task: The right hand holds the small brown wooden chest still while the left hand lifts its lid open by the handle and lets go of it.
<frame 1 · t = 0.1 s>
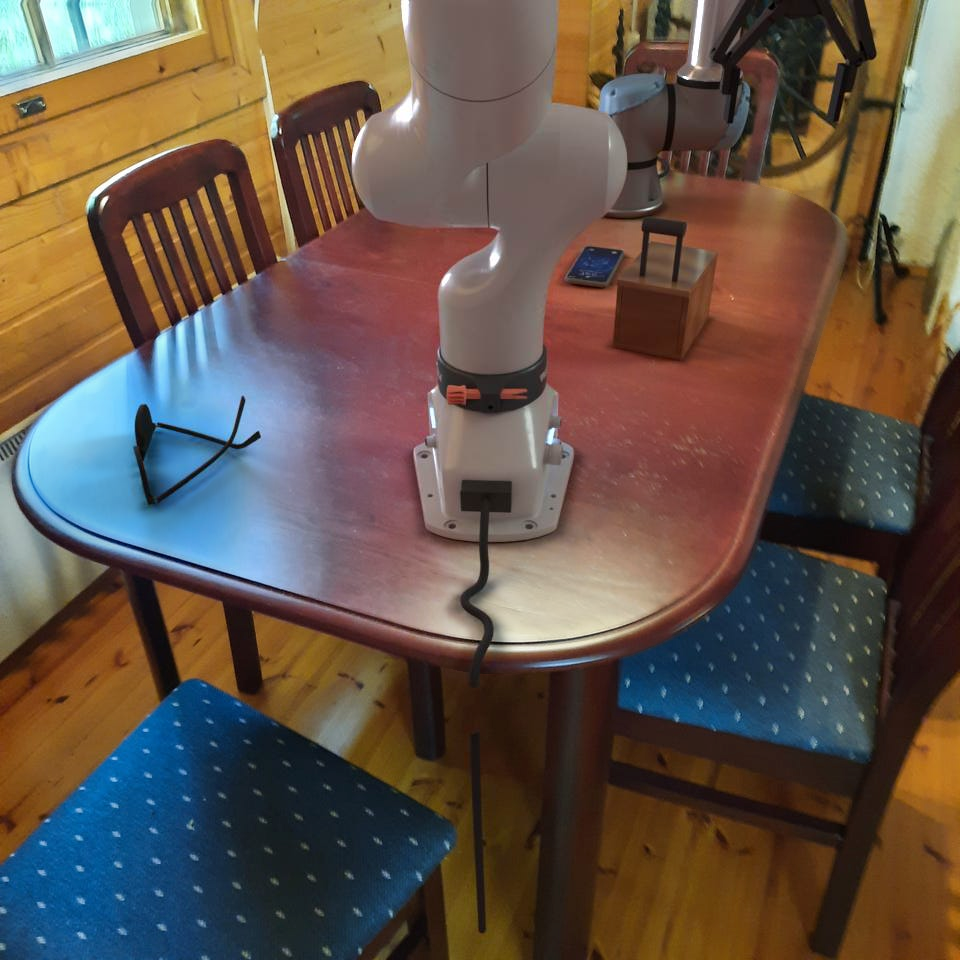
right hand: (780, 120, 112), 28 cm above the table, tool pointing down, fingers open, 13 cm apart
smartphone: (595, 269, 144), on the table
lid: (671, 240, 117), point 14 cm above the table, hinge at 0.0°
chest: (661, 332, 125), on the table
sunglasses: (202, 458, 102), on the table
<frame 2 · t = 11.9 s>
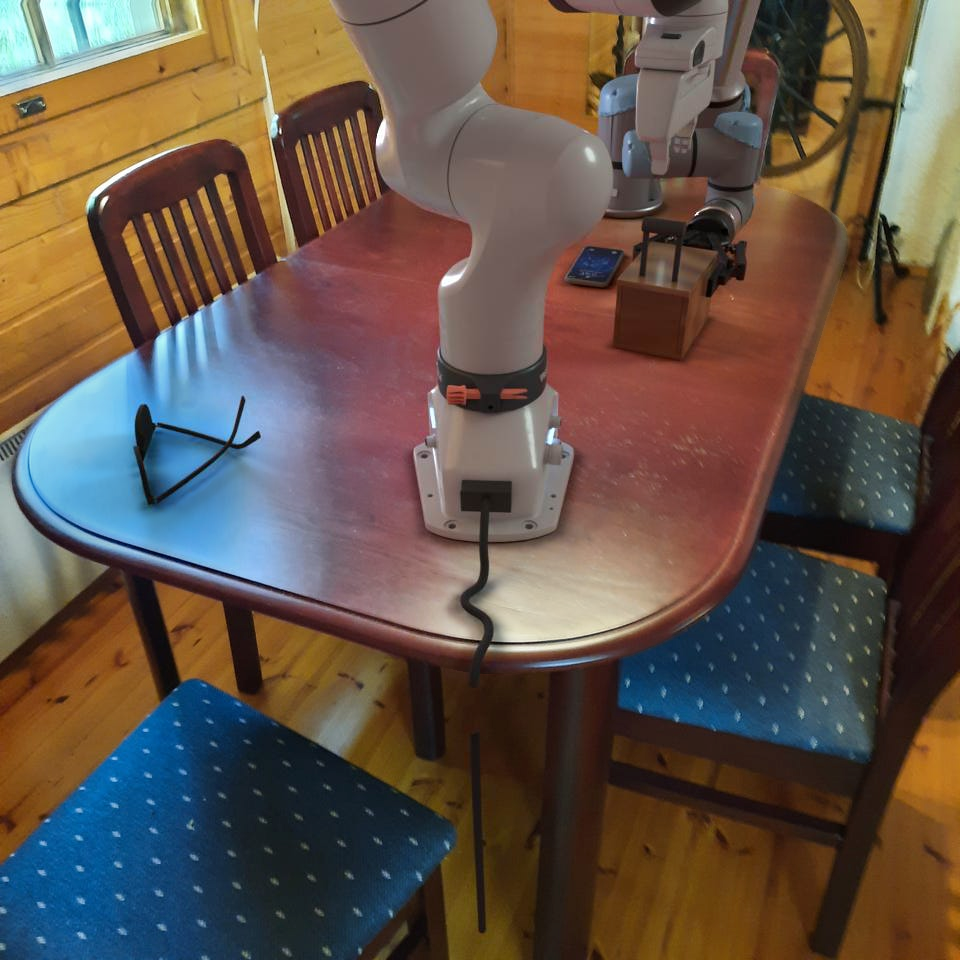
left hand: (671, 162, 106), 26 cm above the table, tool pointing down, fingers open, 8 cm apart
right hand: (672, 282, 124), 7 cm above the table, tool horizontal, fingers closed on chest, 10 cm apart
chest: (661, 332, 125), on the table, touching right hand
everything else where it was.
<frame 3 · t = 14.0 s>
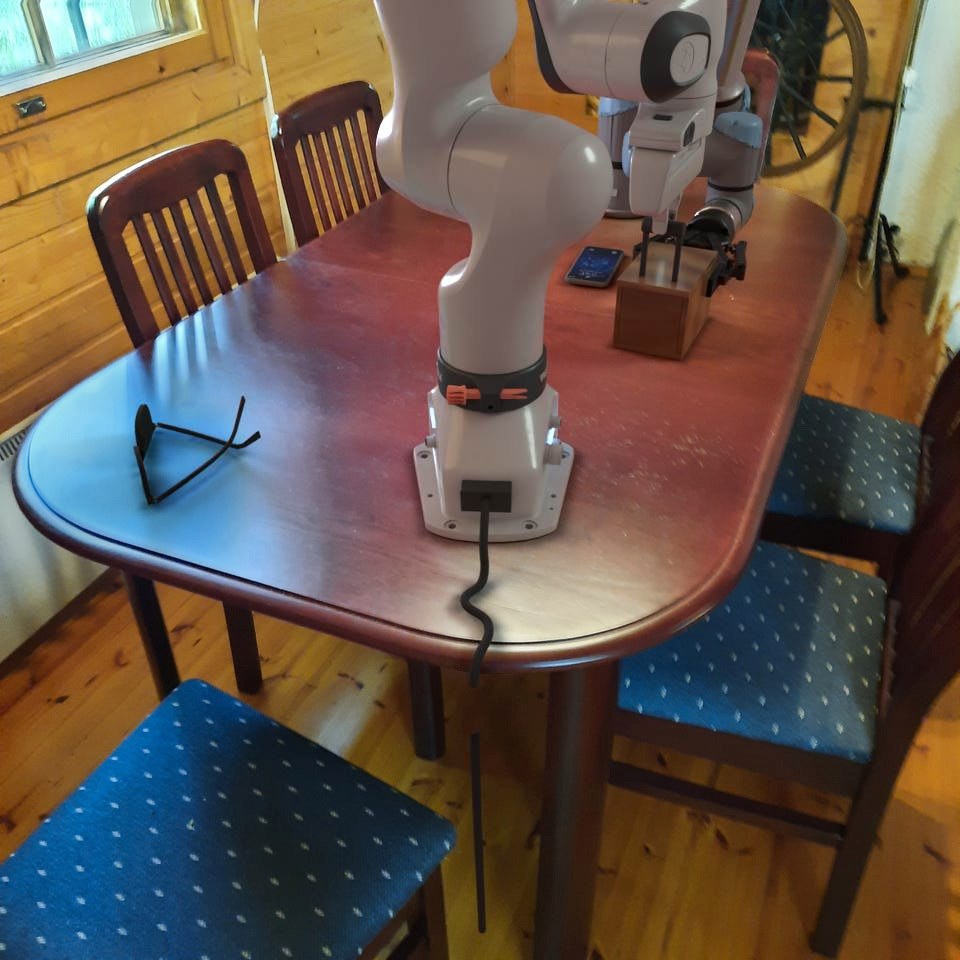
left hand: (663, 228, 111), 17 cm above the table, tool pointing down, fingers closed on lid, 2 cm apart
right hand: (672, 282, 124), 7 cm above the table, tool horizontal, fingers closed on chest, 10 cm apart
lid: (671, 240, 117), point 14 cm above the table, hinge at -0.1°, touching left hand
chest: (661, 332, 125), on the table, touching right hand
everything else where it was.
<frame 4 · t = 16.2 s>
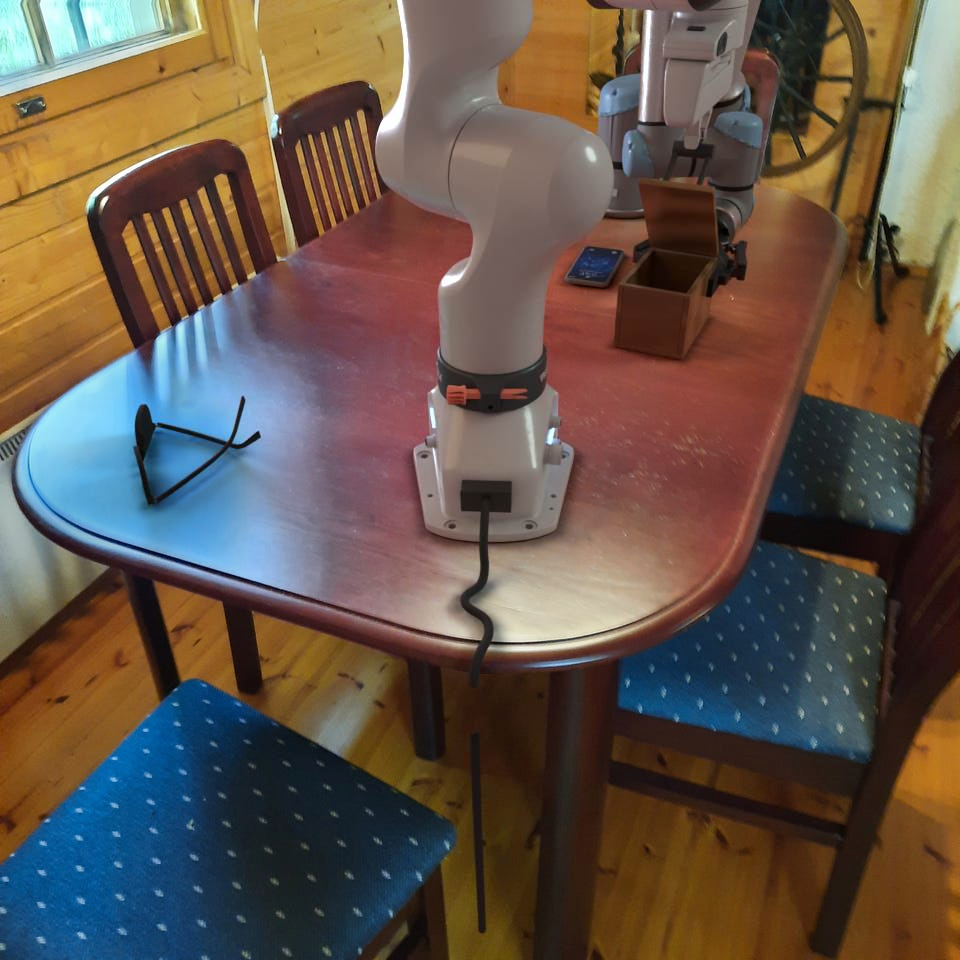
left hand: (694, 144, 115), 25 cm above the table, tool pointing down, fingers closed, pressing on lid
right hand: (673, 282, 124), 6 cm above the table, tool horizontal, fingers closed on chest, 10 cm apart
lid: (688, 194, 119), point 18 cm above the table, hinge at 52.6°, touching left hand
chest: (662, 331, 125), on the table, touching right hand
everything else where it was.
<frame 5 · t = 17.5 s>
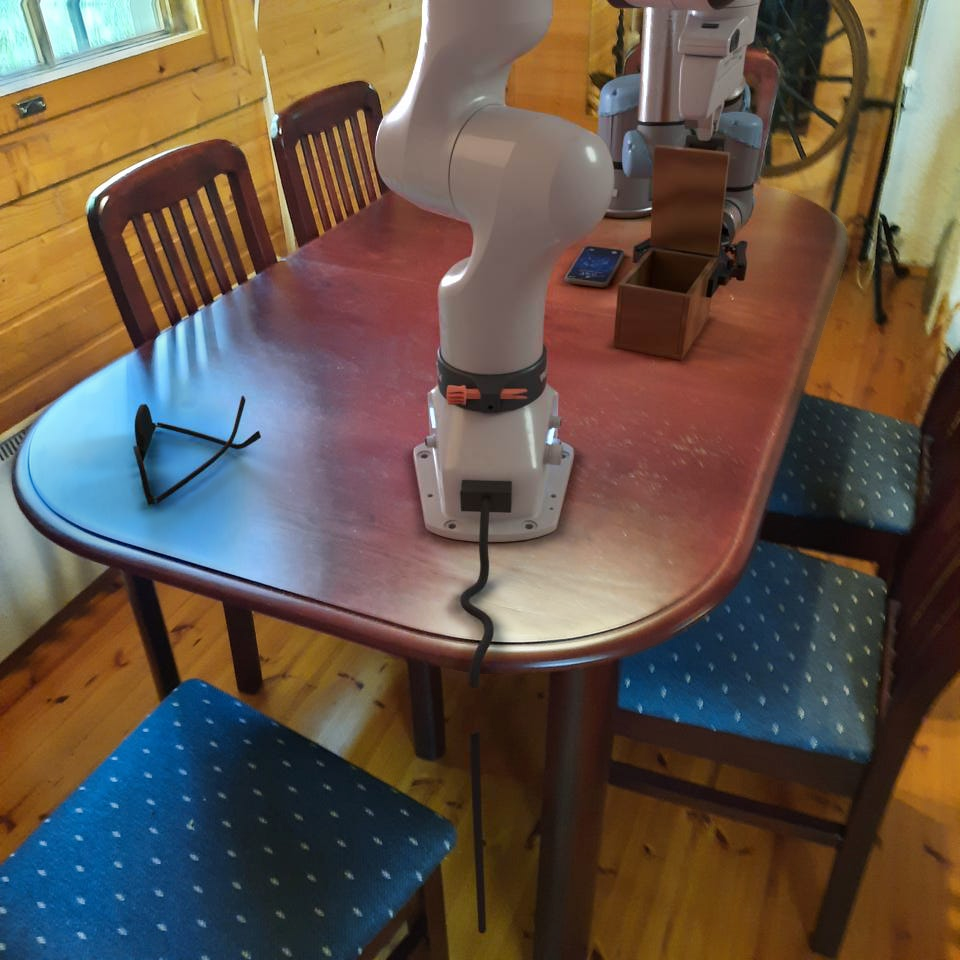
left hand: (707, 136, 120), 24 cm above the table, tool pointing down, fingers closed
right hand: (673, 282, 124), 6 cm above the table, tool horizontal, fingers closed on chest, 10 cm apart
lid: (695, 188, 122), point 18 cm above the table, hinge at 79.6°, touching left hand
chest: (661, 332, 125), on the table, touching right hand
everything else where it was.
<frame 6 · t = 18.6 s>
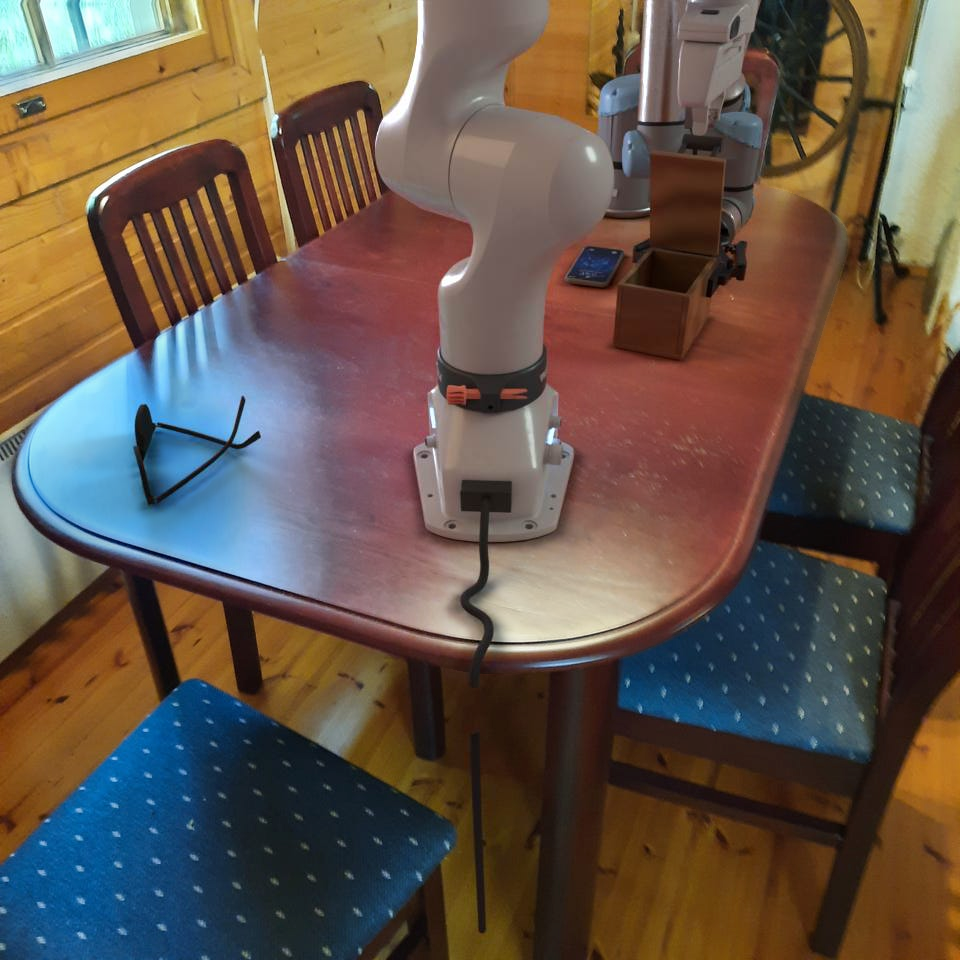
left hand: (705, 128, 118), 26 cm above the table, tool pointing down, fingers open, 5 cm apart
right hand: (672, 282, 124), 6 cm above the table, tool horizontal, fingers closed on chest, 10 cm apart
lid: (694, 188, 121), point 18 cm above the table, hinge at 72.8°
chest: (661, 332, 125), on the table, touching right hand
everything else where it was.
when the right hand's fingers open (6 cm above the table, at t = 21.6 s): chest stays where it is, on the table.
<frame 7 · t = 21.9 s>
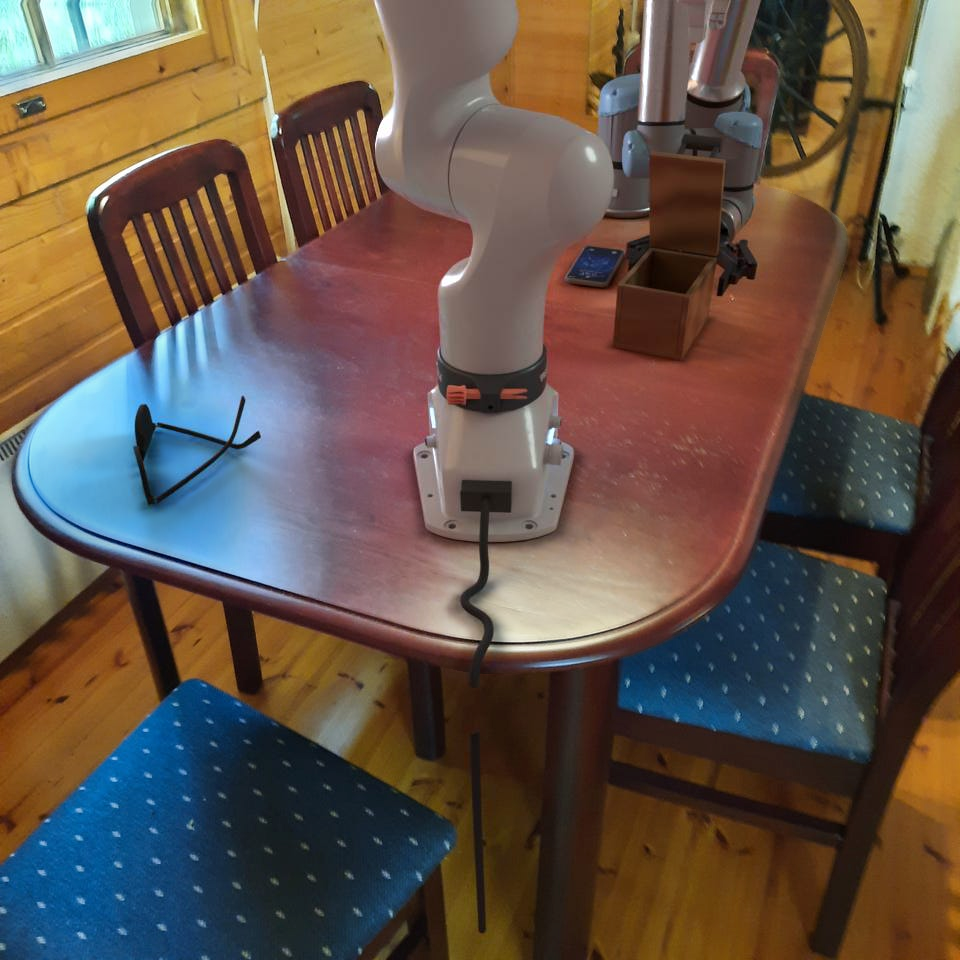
left hand: (706, 35, 106), 38 cm above the table, tool pointing down, fingers open, 8 cm apart
right hand: (674, 279, 124), 7 cm above the table, tool horizontal, fingers open, 13 cm apart
lid: (693, 188, 121), point 18 cm above the table, hinge at 72.3°
chest: (661, 332, 125), on the table
everything else where it was.
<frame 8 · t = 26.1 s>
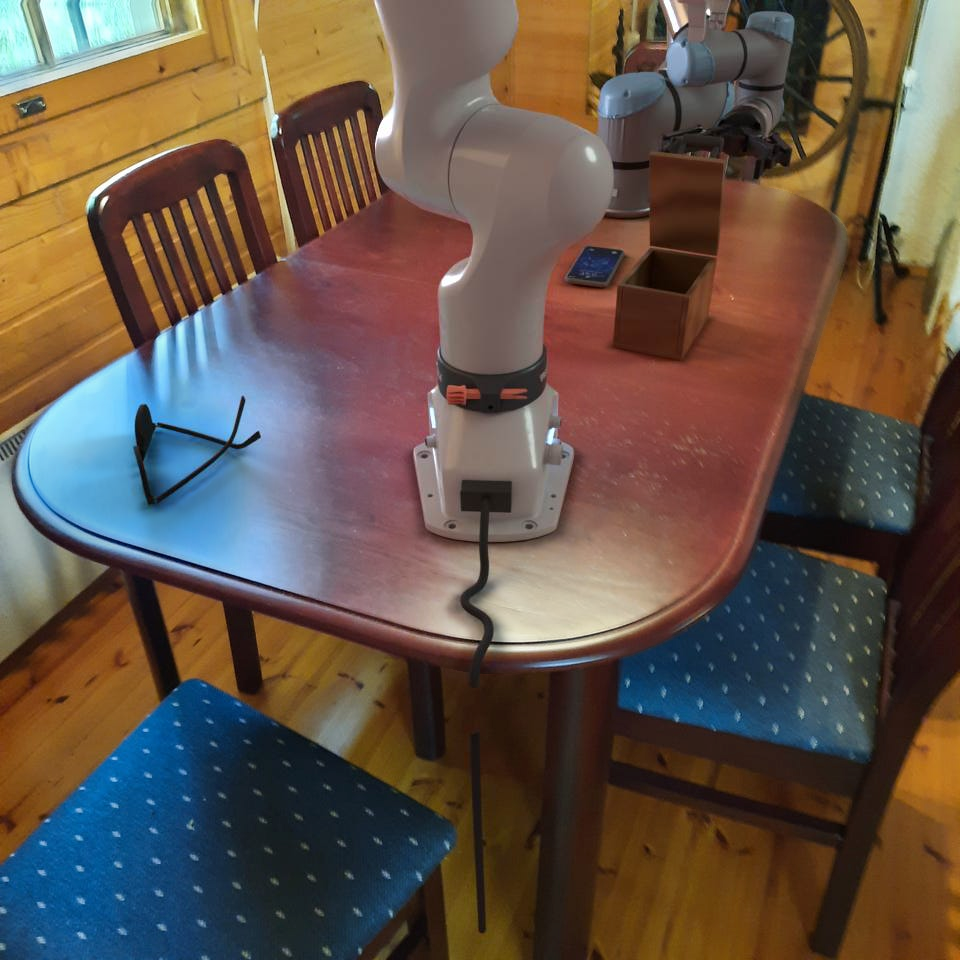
left hand: (706, 35, 106), 38 cm above the table, tool pointing down, fingers open, 8 cm apart
right hand: (710, 164, 127), 19 cm above the table, tool horizontal, fingers open, 13 cm apart
nothing on the table moved.
at the end: lid at +72° (first picture: +0°); the left hand is holding nothing; the right hand is holding nothing; chest tilted 0°; chest never tilted more than 1° during the clip; chest moved 0.0 cm from its start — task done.
